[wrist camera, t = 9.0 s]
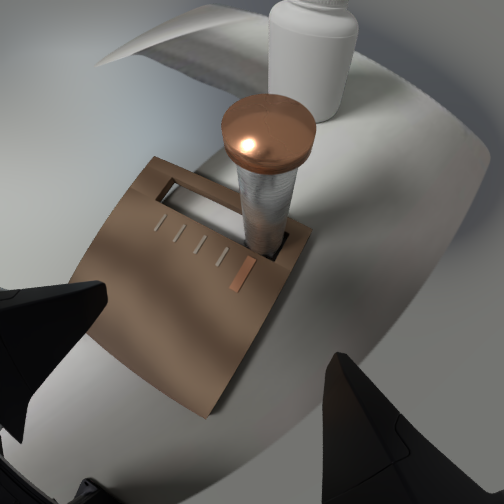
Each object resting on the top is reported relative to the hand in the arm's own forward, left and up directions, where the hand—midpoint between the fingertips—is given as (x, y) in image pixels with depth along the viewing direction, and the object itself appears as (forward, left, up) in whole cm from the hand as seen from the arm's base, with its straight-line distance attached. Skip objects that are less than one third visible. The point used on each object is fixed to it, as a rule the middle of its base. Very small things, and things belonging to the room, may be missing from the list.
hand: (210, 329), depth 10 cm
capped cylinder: (+7, +2, -11) cm, 14 cm away
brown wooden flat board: (+1, +7, -11) cm, 13 cm away
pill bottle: (+24, +6, -11) cm, 28 cm away
